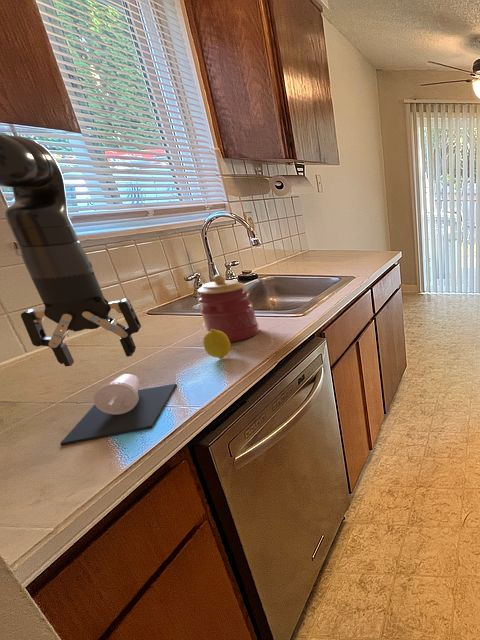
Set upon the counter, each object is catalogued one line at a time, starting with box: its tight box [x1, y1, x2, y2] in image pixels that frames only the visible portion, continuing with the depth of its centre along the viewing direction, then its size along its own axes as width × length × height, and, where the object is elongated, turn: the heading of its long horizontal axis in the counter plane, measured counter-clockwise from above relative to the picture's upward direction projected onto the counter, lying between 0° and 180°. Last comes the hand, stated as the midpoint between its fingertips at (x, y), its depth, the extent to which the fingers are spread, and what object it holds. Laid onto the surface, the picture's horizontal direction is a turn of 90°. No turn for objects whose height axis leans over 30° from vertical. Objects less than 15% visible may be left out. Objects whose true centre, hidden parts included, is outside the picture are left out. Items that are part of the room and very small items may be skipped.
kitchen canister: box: [196, 274, 260, 343], centre depth 113 cm, size 13×13×18 cm
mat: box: [59, 383, 177, 446], centre depth 78 cm, size 13×18×1 cm
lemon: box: [202, 329, 232, 360], centre depth 99 cm, size 6×6×8 cm
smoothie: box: [93, 373, 140, 415], centre depth 77 cm, size 6×6×14 cm
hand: (101, 359), depth 73 cm, fingers open, 8 cm apart
